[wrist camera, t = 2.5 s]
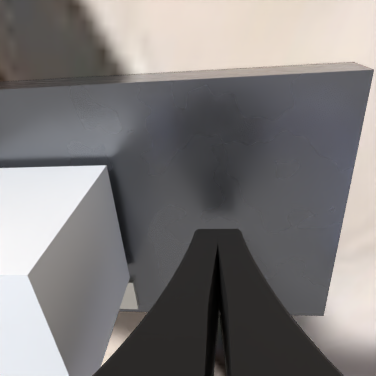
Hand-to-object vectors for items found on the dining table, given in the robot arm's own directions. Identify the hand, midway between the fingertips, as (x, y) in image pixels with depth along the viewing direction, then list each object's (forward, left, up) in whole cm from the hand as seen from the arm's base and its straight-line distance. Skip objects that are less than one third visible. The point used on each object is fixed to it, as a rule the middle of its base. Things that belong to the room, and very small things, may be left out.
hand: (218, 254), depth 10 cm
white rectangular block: (-1, +6, -2) cm, 6 cm away
